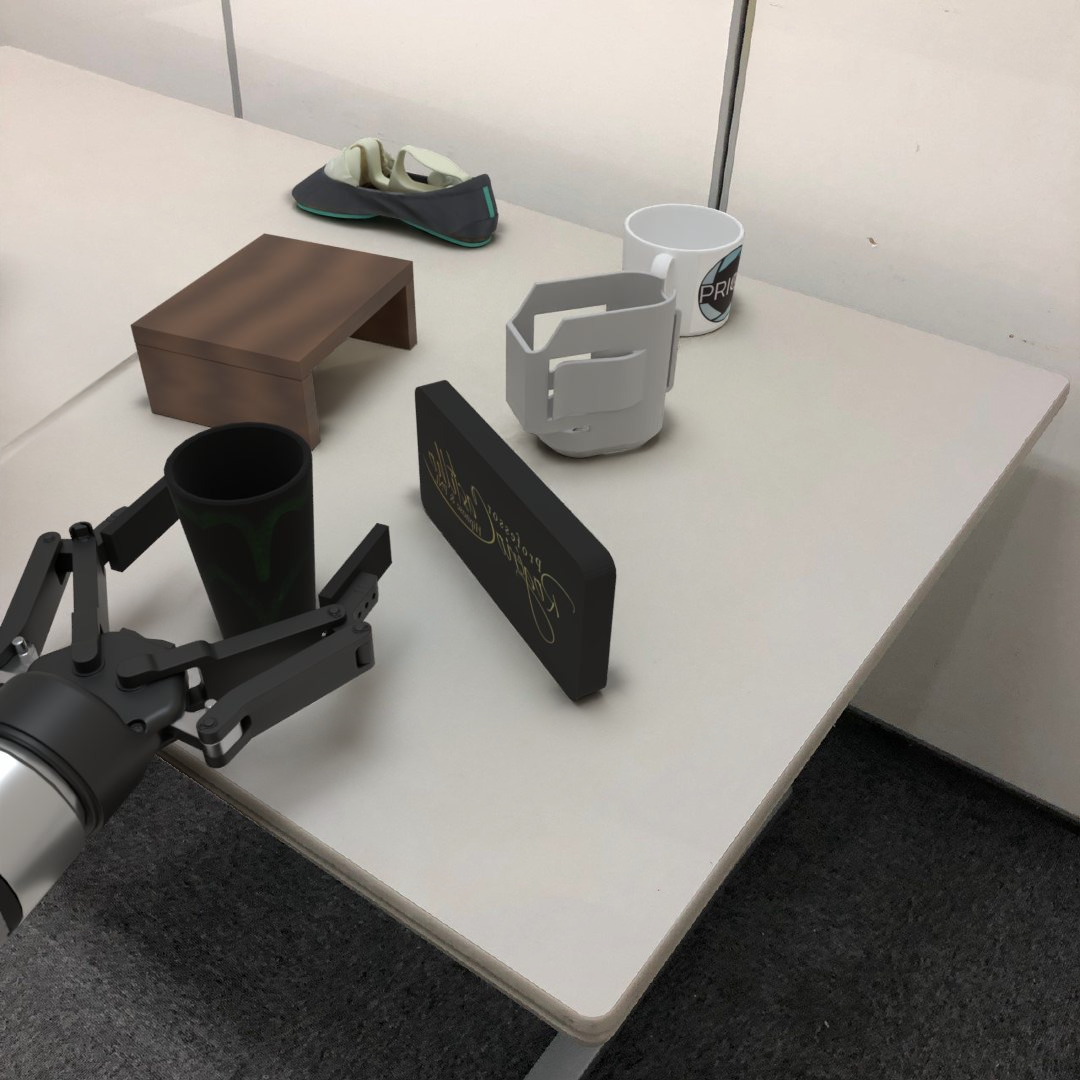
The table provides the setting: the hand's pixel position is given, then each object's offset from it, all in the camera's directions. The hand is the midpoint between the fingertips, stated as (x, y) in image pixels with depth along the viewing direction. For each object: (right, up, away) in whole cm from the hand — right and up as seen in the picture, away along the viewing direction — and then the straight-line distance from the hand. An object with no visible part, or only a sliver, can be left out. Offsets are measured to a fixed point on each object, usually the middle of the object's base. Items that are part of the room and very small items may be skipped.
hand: (280, 514), depth 62 cm
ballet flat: (0, +32, +50) cm, 59 cm away
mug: (+27, +18, +34) cm, 47 cm away
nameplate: (+13, -5, +5) cm, 15 cm away
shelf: (-5, +12, +25) cm, 28 cm away
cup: (-1, -7, +2) cm, 7 cm away
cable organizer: (+18, +6, +18) cm, 26 cm away
